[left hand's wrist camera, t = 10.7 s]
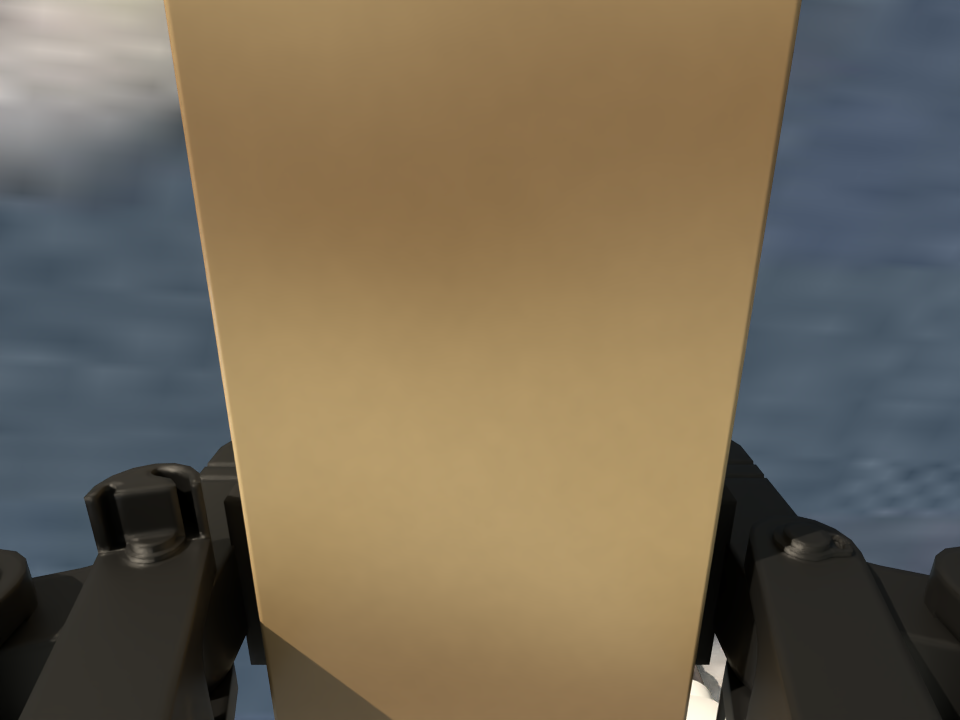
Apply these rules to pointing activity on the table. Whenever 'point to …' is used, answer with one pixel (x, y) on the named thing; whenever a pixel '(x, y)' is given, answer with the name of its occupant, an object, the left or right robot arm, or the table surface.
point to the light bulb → (701, 701)
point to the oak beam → (481, 334)
